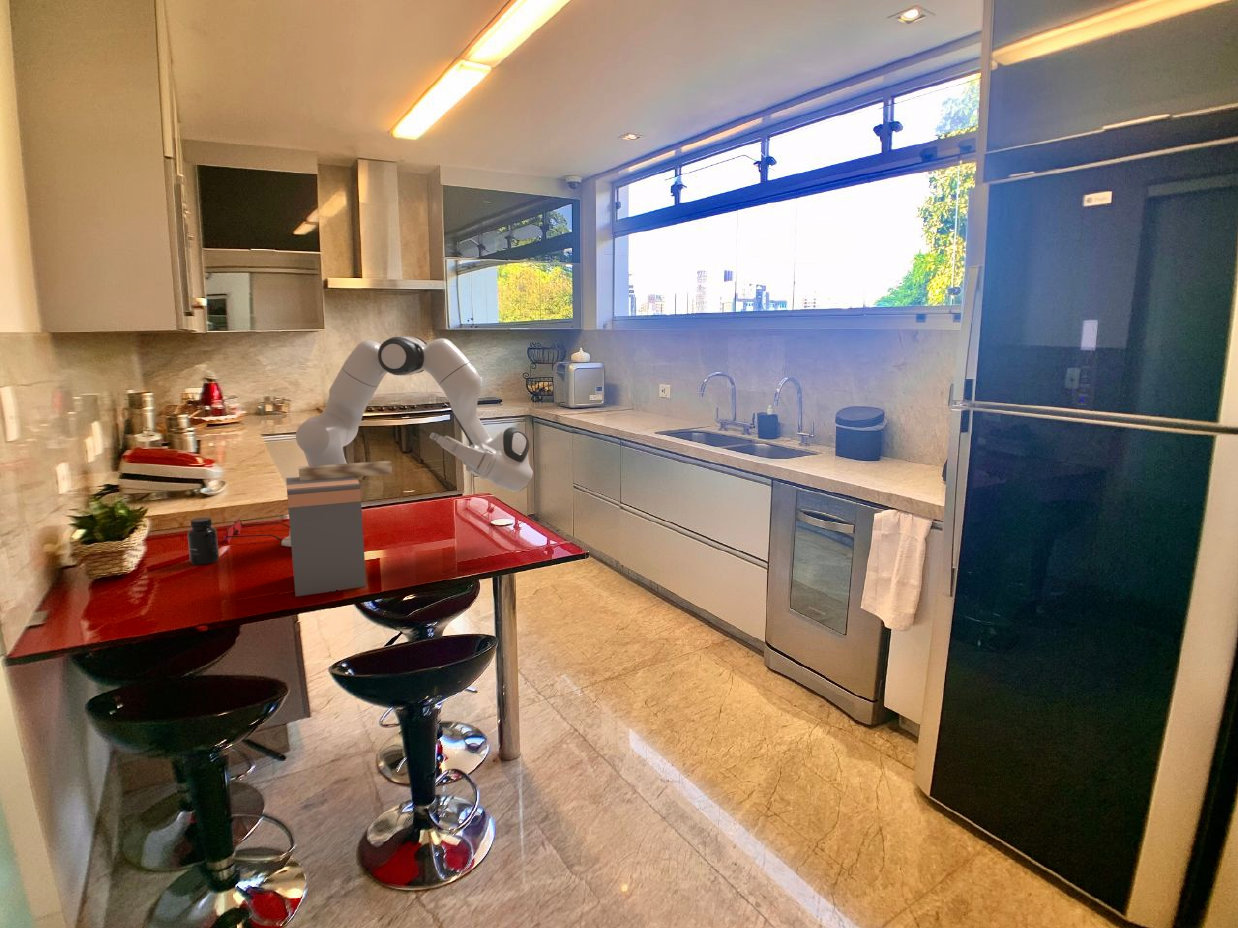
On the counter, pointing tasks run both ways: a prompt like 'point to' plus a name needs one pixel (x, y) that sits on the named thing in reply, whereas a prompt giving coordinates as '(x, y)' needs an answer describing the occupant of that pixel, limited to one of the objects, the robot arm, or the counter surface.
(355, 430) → the robot arm
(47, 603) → the counter surface
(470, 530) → the counter surface
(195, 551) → the supplement bottle
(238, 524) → the glasses
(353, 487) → the stand
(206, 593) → the counter surface
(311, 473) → the maple bar
